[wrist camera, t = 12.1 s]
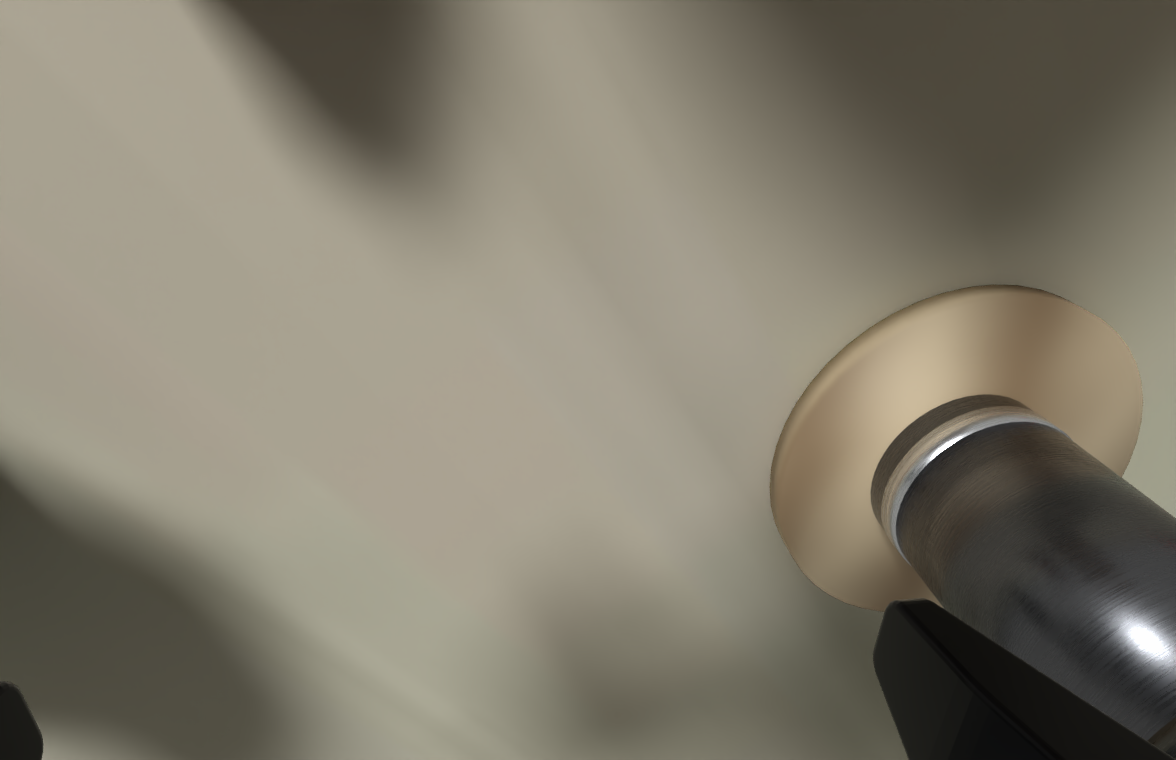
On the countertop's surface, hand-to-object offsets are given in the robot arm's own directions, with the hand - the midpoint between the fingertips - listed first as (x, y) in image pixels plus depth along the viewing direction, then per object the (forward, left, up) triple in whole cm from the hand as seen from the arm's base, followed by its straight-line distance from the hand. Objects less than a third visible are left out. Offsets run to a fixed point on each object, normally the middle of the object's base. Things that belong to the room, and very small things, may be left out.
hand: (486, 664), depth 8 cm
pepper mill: (+15, -7, -12) cm, 20 cm away
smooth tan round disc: (+15, -7, -13) cm, 21 cm away
